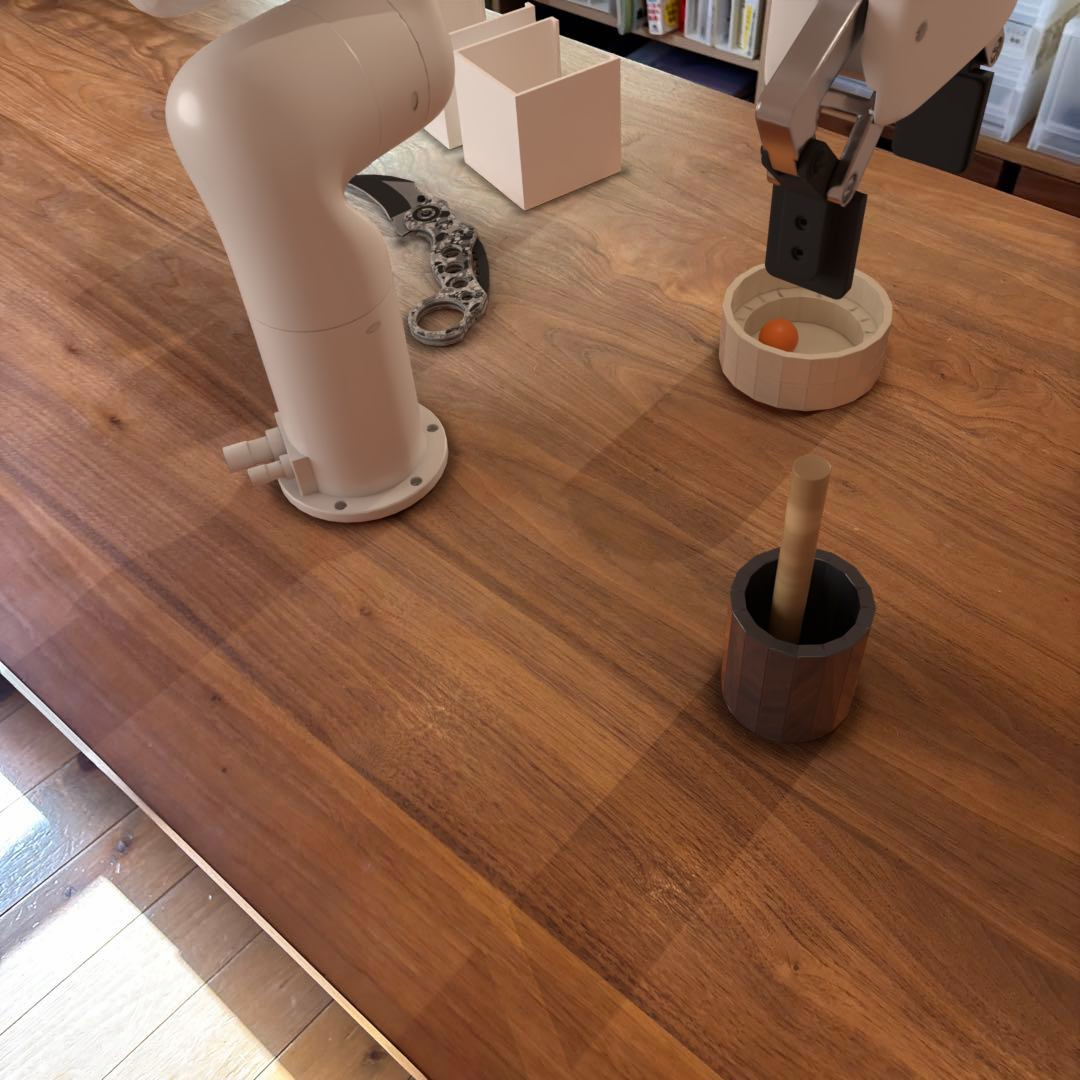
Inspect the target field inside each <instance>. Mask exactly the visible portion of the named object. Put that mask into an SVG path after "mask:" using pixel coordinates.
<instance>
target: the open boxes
mask: <svg viewBox="0 0 1080 1080" xmlns="http://www.w3.org/2000/svg"><path fill="white" fill-rule="evenodd" d="M436 1H437V3H438V6H439V8H440V10H441V13H442V16H443V18H444V21H445V24H446V27H447V30H448V33H449V36H450V39H451V43H452V48H453V53H454V60H455V82H454V87H453V91H452V94H451V97H450V99H449V101H448V103H447V105H446V107H445V108H444V109H443V111H442V112H441V113H440V114H439V115H438V116H437V117H436V118H435V119H434V120H433V121H432V122H431V123H429V124H428V125H427V126H425V127H424V128H423V130H425V131H426V132H427V133H428V134H429V135H431V136H432V137H433V138H434V139H436V140H437V141H438V142H439V143H440V144H442V145H443V146H444V147H445V148H447V149H448V150H450V151H451V150H453V149H455V148H458V147H460V146H462V150H463V151H462V152H463V158H464V163H465V164H466V165H467V166H468V167H470V168H472V170H474V172H476V173H477V174H478V175H480V176H481V177H483V179H485V180H486V181H487V182H489V183H490V184H491V185H492V186H493V187H494V188H496V189H497V190H498V191H499V192H501V193H502V194H503V195H504V196H506V198H507V199H509V200H510V201H512V202H513V203H514V204H515V205H517V207H519V208H520V209H522V211H524V212H525V211H527V210H530V209H533V208H535V207H538V206H540V205H543V204H544V203H547V202H550V201H552V200H554V199H557V198H559V197H561V196H564V195H566V194H569V193H571V192H574V191H576V190H579V189H581V188H584V187H586V186H588V185H591V184H594V183H597V182H598V181H601V180H603V179H605V178H608V177H610V176H612V175H615V174H617V173H620V172H622V103H621V102H622V101H621V100H622V99H621V97H622V96H621V95H622V93H621V92H622V91H621V84H622V83H621V79H622V78H621V57H620V56H618V55H617V54H615V53H610V54H609V57H608V58H609V59H607V60H604V61H601V62H599V63H596V64H592V65H590V66H588V67H585V68H581V69H579V70H576V71H574V72H571V73H569V74H566V75H563V76H562V60H561V57H562V56H561V38H560V20H559V19H557V18H556V17H554V16H549V17H546V18H544V19H540V20H537V19H536V5H534V4H533V3H531V2H529V1H527V2H525V3H524V7H521V8H518V9H515V10H512V11H509V12H507V13H503V14H501V15H497V16H494V17H492V18H489V19H487V12H486V2H485V0H436Z"/></svg>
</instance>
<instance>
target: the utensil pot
mask: <svg viewBox="0 0 1080 1080" xmlns="http://www.w3.org/2000/svg"><path fill="white" fill-rule="evenodd" d="M779 553H780V546H777V547H775V548H772V549H769V550H766V551H764V552H763V551H762V552H760V553H758V554H756V555H754V556H753V557H751V558H750V559H749V560H748V561H747V562H746V563H744V564H743V565H742V566H741V567H740V568H739V569H738V570H737V571H736V573H735V576H734V578H733V581H732V583H731V586H730V588H729V593H728V602H727V603H728V604H727V613H726V623H725V632H724V643H723V651H722V652H723V653H722V661H721V671H720V684H721V693H722V697H723V701H724V702H725V704H726V706H727V708H728V710H729V712H730V713H731V714H732V715H733V717H734V719H735V720H737V721H738V722H739V723H740V724H741V725H743V726H744V727H745V728H746V729H748V730H749V731H751V732H752V733H754V734H755V735H758V736H760V737H763V738H765V739H768V740H771V741H775V742H781V743H795V744H796V743H808V742H810V741H811V742H812V741H814V740H818V739H821V738H822V737H825V736H827V735H828V734H831V733H832V732H833V731H834V730H835V729H836V728H837V727H838V726H839V725H841V723H842V722H843V721H844V720H845V719H846V718H847V716H848V714H849V711H850V708H851V704H852V701H853V698H854V694H855V691H856V686H857V683H858V680H859V675H860V671H861V668H862V665H863V661H864V657H865V653H866V649H867V646H868V643H869V638H870V634H871V631H872V627H873V623H874V619H875V617H876V615H875V614H876V611H877V605H876V602H875V597H874V593H873V589H872V586H871V584H870V583H869V582H868V581H867V580H866V578H865V577H864V575H862V573H861V572H860V570H859V569H858V568H857V567H856V566H855V565H853V564H852V563H850V562H848V561H847V560H846V559H844V558H842V557H840V556H839V555H837V554H836V553H833V552H832V551H827V550H824V549H821V548H817V549H816V554H815V559H814V565H813V570H812V575H811V581H810V586H809V591H808V597H807V602H806V607H805V613H804V618H803V623H802V628H801V634H800V639H799V644H798V645H795V644H792V643H789V642H785V641H782V640H778V639H776V638H774V637H773V636H772V635H770V634H769V633H768V626H769V620H770V613H771V606H772V600H773V593H774V586H775V580H776V573H777V566H778V560H779Z"/></svg>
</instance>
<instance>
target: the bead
mask: <svg viewBox="0 0 1080 1080" xmlns="http://www.w3.org/2000/svg"><path fill="white" fill-rule="evenodd" d="M798 339H799V336H798V331H797V329H796V327H795V326H794V325H793V324H792V323H791V322H790V321H788V320H786V319H780V318H779V319H773V320H770V321H769V322H767V323H766V324H765V325H764V326H763V327H762V329H761V330H760V333H759V342H761V343H763V344H765V345H768V346H771V347H774V348H777V349H780V350H783V351H786V352H793V351H794V350H795V348H796V346H797V344H798Z"/></svg>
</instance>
